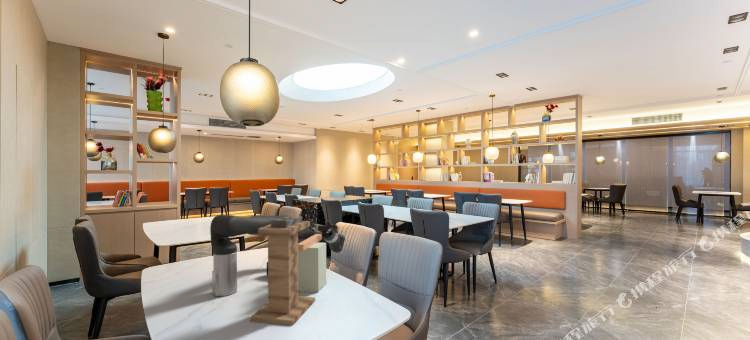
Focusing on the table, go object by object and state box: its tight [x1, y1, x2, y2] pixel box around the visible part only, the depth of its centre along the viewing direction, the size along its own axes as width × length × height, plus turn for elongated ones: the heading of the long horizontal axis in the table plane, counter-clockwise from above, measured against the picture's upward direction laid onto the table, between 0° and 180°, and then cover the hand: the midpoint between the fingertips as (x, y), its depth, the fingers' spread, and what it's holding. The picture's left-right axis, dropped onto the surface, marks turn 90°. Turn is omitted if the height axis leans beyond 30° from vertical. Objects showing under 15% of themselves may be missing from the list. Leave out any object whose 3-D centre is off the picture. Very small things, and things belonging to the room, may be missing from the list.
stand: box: [249, 215, 316, 326], centre depth 120 cm, size 20×16×34 cm
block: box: [298, 234, 322, 251], centre depth 144 cm, size 22×3×2 cm, turn 169°
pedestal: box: [298, 242, 327, 293], centre depth 143 cm, size 10×12×19 cm
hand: (319, 223), depth 154 cm, fingers open, 8 cm apart
